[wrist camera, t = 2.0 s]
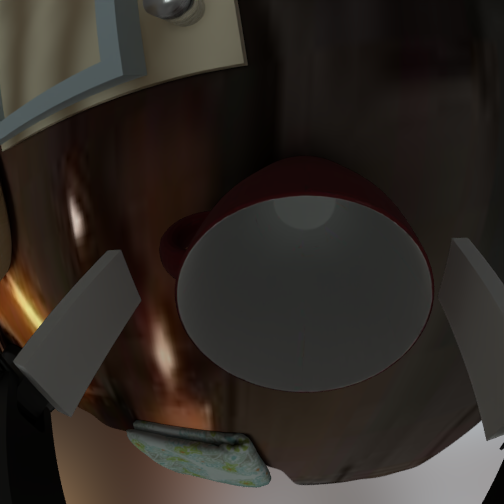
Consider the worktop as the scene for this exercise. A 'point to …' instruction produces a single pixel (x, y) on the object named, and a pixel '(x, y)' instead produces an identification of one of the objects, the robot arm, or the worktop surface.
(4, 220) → the planter
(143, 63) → the bay
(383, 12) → the worktop surface
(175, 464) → the towel
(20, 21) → the board
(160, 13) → the peg
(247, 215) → the mug
